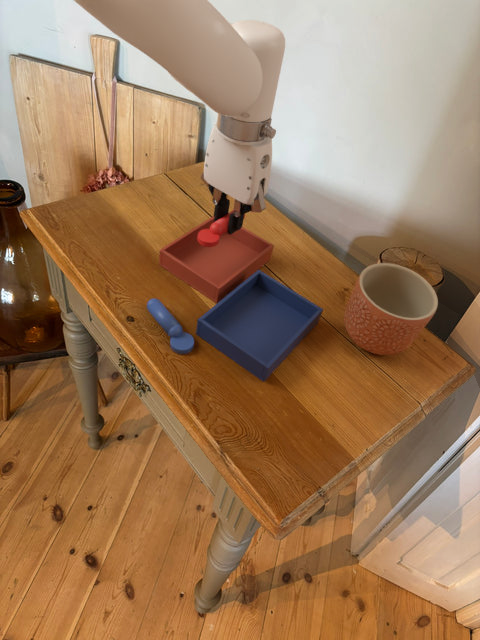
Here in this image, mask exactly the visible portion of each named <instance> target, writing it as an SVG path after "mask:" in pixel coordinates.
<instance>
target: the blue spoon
mask: <svg viewBox="0 0 480 640" xmlns="http://www.w3.org/2000/svg"><path fill="white" fill-rule="evenodd" d="M146 310H147V311H148V312H149V313H150V315H151V316H152V317H153V318H154V320H155V321H156V322H157V323H158V325H159V326H160V327H161V328H162V329H163V330H164V332H165V333H166V334H167V336H168V337H169V338H170V341H169V346H170V349H171V350H172V351H173V352H174V353H176V354H179V355H185V354H186V355H187V354H189V353H191V352H192V351H193V350H194V347H195V339H194V337H193V335H191V334H190V333H188V332H186V331H184V329H183V326H182V325H181V324H180V322H179V321H178V320H177V319H176V318H175V317H174V316H173V314H172V313H171V311H169V309H167V307H166V306H165V305H164V303H162V301H161V300H160V299H158V298H156V297H155V298H154V297H153V298H150V299H149V300H148V301H147V303H146Z"/></svg>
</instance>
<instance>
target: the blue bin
mask: <svg viewBox="0 0 480 640" xmlns="http://www.w3.org/2000/svg"><path fill="white" fill-rule="evenodd" d="M323 311H324V308H322V307H321V306H319V305H317V304H316V303H314V302H312V301H311V300H310V299H307V298H306V297H304V296H303V295H301V294H299V293H298V292H296V291H294V290H293V289H291V288H290V287H288V286H286V285H284V284H283V283H282V282H280V281H279V280H276V279H275V278H273V277H272V276H270V275H268V274H267V273H265V272H263V271H262V270H260V269H258V270H257V271H256V272H255V273H253V274H252V275H251V276H250V277H249V278H247V279H246V280H245V281H244V282H242V283H241V284H240V285H239V286H238V287H236V288H235V289H234V290H233V291H232V292H230V293H229V294H228V295H227V296H225V297H224V298H223V299H222V300H221V301H219V302H218V303H215V305H214V306H212V307H211V308H210V309H208V311H206V312H205V313H204V314H203V315H201V316H200V317H199V318H198V319H197V323H196V330H195V335H197V336H198V338H201V339H202V340H203V341H205V342H206V343H208V344H209V345H211V346H212V347H213V348H214V349H216V350H217V351H219V352H221V354H223V355H225V356H226V357H227V358H229V359H231V360H232V361H233V362H234V363H236V364H237V365H239V366H240V367H242V368H243V369H244V370H246V371H247V372H249V373H250V374H251V375H253V376H254V377H256V378H258V379H259V380H260V381H261V382H265V381H266V380H268V378H269V377H270V376H271V375H272V374H273V373H274V371H275V370H276V369H277V368H278V367H279V366H280V365H281V364H282V363H283V362H284V361H285V360H286V358H287V357H289V355H290V354H292V352H293V351H294V350H295V349H296V347H297V346H298V345H300V343H301V342H302V341H303V340H304V339H305V338H306V337H307V335H308V334H310V333H311V331H312V330H313V329H314V328H315V327H316V326H317V325H318V324H319V321H320V318H321V316H322V314H323Z"/></svg>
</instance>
